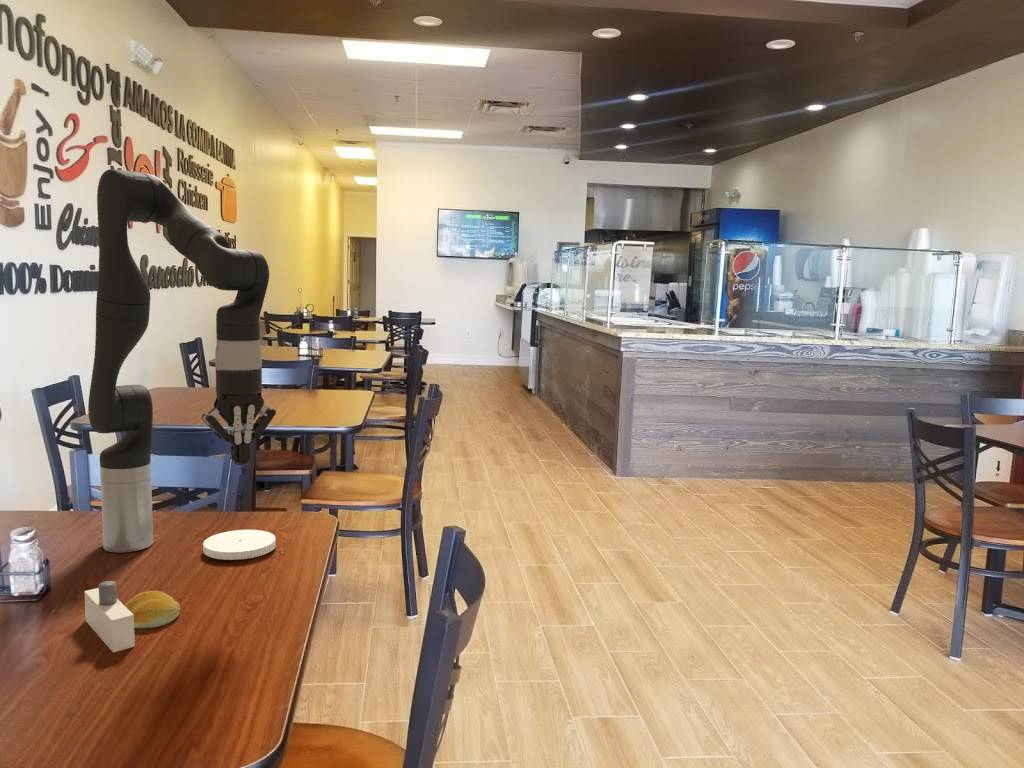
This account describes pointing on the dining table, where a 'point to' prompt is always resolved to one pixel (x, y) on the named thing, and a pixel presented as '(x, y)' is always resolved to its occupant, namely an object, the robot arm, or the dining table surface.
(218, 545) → the plastic lid
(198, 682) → the dining table surface
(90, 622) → the bench stop
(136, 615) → the bread roll
